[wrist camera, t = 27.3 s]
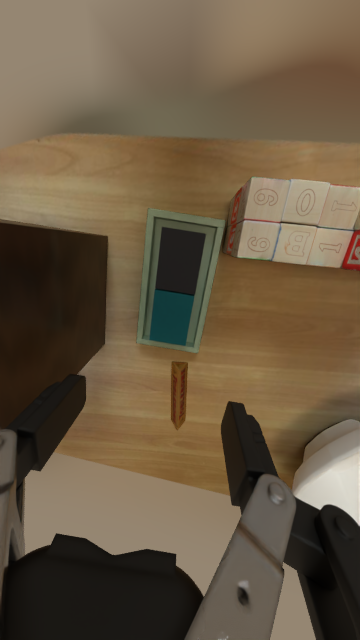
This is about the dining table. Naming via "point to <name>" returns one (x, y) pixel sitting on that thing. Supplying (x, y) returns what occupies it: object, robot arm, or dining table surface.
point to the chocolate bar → (178, 393)
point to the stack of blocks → (295, 223)
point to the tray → (205, 278)
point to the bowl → (332, 469)
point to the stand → (47, 308)
